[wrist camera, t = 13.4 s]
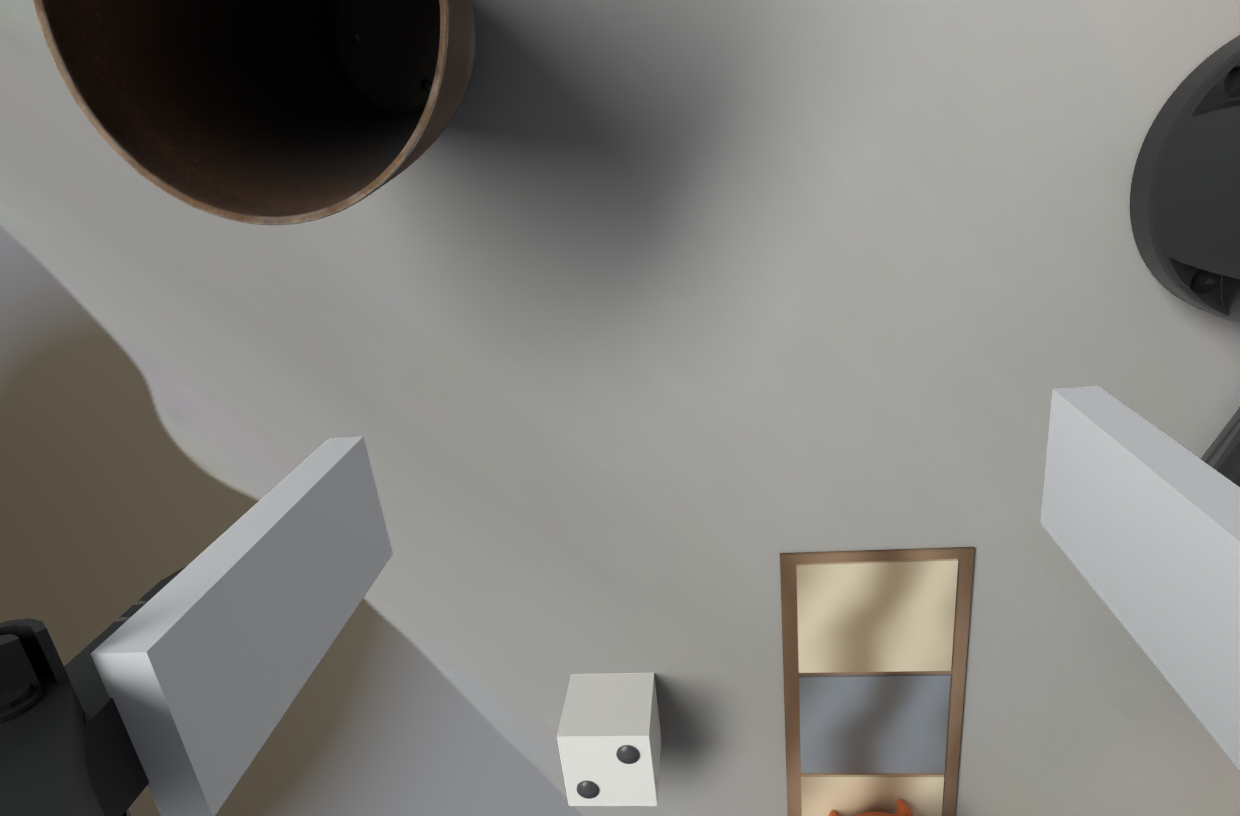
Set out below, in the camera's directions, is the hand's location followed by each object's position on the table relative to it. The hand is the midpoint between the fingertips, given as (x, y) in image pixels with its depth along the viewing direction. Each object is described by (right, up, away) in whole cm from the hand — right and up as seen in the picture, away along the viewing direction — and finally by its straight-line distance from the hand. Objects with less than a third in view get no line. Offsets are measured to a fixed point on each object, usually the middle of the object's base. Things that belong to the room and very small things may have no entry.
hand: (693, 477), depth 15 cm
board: (+17, -25, +41) cm, 51 cm away
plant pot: (-13, +21, +26) cm, 36 cm away
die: (-2, -20, +42) cm, 46 cm away
